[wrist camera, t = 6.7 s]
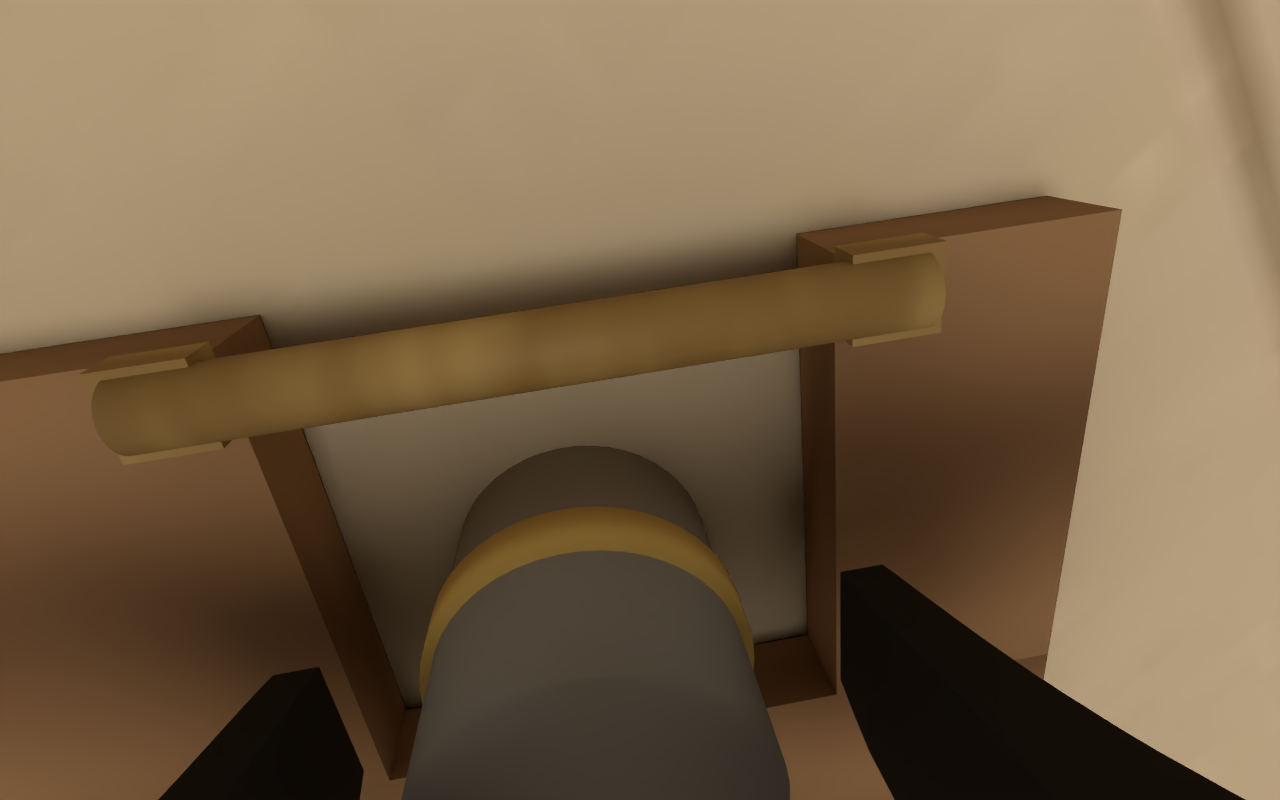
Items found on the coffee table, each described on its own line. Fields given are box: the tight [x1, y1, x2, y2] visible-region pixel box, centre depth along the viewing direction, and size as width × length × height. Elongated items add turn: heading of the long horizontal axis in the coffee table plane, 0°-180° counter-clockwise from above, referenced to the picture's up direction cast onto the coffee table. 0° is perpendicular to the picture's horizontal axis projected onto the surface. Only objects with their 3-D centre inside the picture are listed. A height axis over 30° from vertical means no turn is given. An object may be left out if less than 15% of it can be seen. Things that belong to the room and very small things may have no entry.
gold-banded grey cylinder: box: [401, 446, 790, 800], centre depth 10 cm, size 5×5×5 cm
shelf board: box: [0, 196, 1122, 800], centre depth 12 cm, size 16×22×2 cm
